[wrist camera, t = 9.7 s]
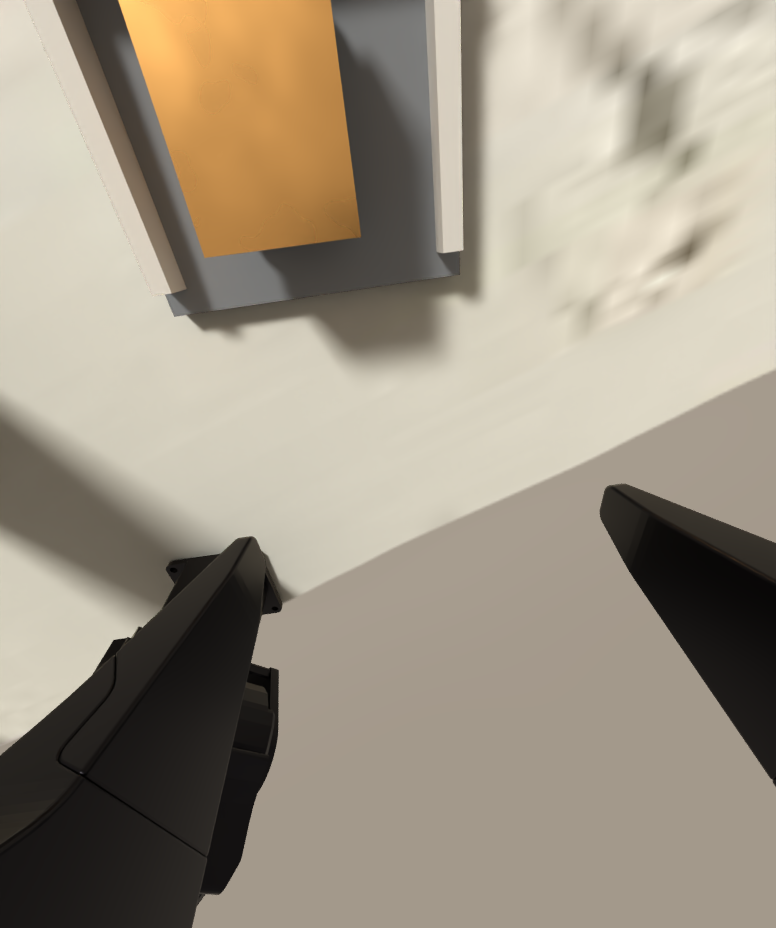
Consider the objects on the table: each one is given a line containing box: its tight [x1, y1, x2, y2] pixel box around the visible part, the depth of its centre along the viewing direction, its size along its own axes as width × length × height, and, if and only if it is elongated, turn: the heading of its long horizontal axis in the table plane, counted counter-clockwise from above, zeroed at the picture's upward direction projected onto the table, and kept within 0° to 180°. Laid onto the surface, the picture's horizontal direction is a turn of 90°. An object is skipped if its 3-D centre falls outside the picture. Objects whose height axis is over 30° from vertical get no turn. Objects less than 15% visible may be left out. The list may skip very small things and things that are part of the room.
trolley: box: [118, 0, 361, 258], centre depth 11 cm, size 7×5×5 cm
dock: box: [23, 0, 463, 317], centre depth 13 cm, size 11×13×3 cm
